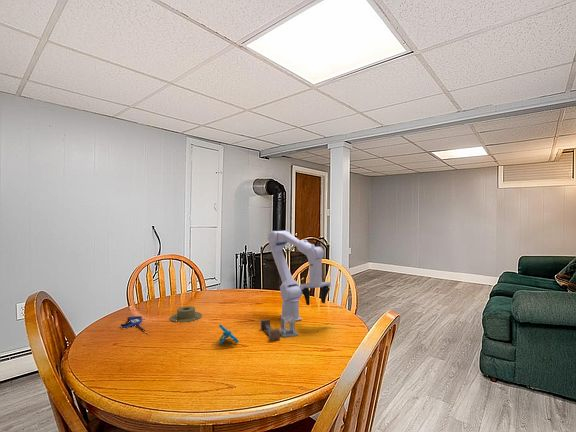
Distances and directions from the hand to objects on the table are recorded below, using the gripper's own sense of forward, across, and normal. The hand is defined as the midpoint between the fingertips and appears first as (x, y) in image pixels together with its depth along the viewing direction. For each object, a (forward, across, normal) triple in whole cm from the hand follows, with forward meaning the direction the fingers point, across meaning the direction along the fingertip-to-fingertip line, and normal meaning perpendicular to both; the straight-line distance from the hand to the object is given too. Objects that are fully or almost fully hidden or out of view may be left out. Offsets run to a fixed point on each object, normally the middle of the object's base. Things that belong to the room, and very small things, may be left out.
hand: (315, 303), depth 137 cm
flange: (+11, -54, +34) cm, 65 cm away
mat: (+10, -15, -3) cm, 18 cm away
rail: (+10, -22, -1) cm, 24 cm away
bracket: (+10, -15, -3) cm, 18 cm away
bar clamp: (+11, -74, +24) cm, 78 cm away
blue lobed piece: (+11, -40, -3) cm, 41 cm away
